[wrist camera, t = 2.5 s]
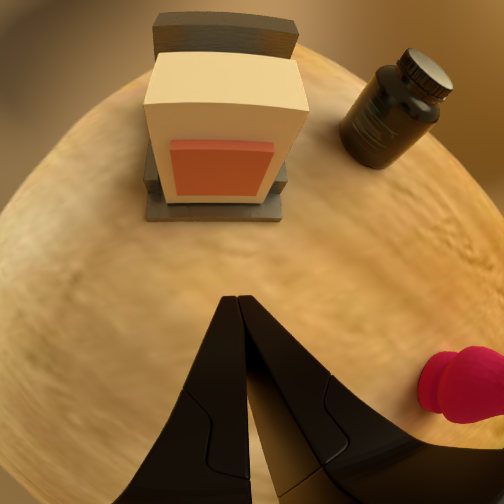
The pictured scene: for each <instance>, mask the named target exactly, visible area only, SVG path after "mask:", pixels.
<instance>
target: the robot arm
mask: <svg viewBox="0 0 504 504" xmlns="http://www.w3.org/2000/svg"><path fill="white" fill-rule="evenodd" d="M330 375H331V373H330V372H329V371H328V370H327V369H326V368H325V367H324V366H323V365H322V364H321V363H320V362H319V361H318V360H317V359H316V358H315V357H314V356H313V355H312V354H311V353H310V352H308V351H307V350H306V349H305V348H304V347H303V346H302V345H301V344H300V343H299V342H298V341H297V340H296V339H295V338H294V337H293V336H292V335H291V334H290V333H289V332H288V331H287V330H286V329H285V328H284V327H283V326H282V325H281V324H280V323H279V322H278V321H277V320H276V319H275V318H274V317H273V316H272V315H271V314H270V313H269V312H268V311H267V310H266V309H265V308H264V307H263V306H262V305H261V304H260V303H259V302H258V301H257V300H256V299H255V298H254V297H253V296H252V295H241V296H238V297H236V296H223V297H221V299H220V301H219V304H218V306H217V308H216V311H215V313H214V315H213V318H212V320H211V322H210V325H209V327H208V329H207V332H206V334H205V336H204V339H203V341H202V343H201V346H200V348H199V350H198V353H197V355H196V357H195V360H194V362H193V364H192V367H191V369H190V371H189V374H188V376H187V378H186V381H185V383H184V385H183V389H182V390H181V392H180V394H179V397H178V399H177V402H176V404H175V406H174V408H173V410H172V412H171V414H170V417H169V419H168V421H167V422H166V424H165V426H164V428H163V430H162V431H161V433H160V435H159V437H158V438H157V440H156V442H155V443H154V445H153V447H152V448H151V450H150V451H149V453H148V455H147V456H146V458H145V459H144V461H143V463H142V464H141V466H140V467H139V469H138V471H137V472H136V474H135V475H134V477H133V478H132V480H131V481H130V483H129V484H128V486H127V487H126V488H125V490H124V491H123V492H122V493H121V494H120V496H119V497H118V498H117V499H116V500H115V501H114V502H113V503H112V504H252V496H251V482H250V457H249V433H248V408H247V396H248V400H249V403H250V407H251V410H252V414H253V418H254V421H255V425H256V428H257V432H258V435H259V439H260V442H261V445H262V449H263V452H264V456H265V459H266V462H267V465H268V469H269V472H270V475H271V478H272V481H273V485H274V488H275V491H276V494H277V497H278V500H279V503H280V504H504V448H503V449H471V448H458V447H447V446H439V445H433V444H429V443H426V442H423V441H420V440H418V439H416V438H414V437H413V436H411V435H409V434H408V433H406V432H405V431H403V430H402V429H400V428H399V427H398V426H396V425H395V424H393V423H392V422H390V421H389V420H388V419H386V418H385V417H383V416H382V415H380V414H379V413H378V412H376V411H375V410H373V409H372V408H371V407H370V406H368V405H367V404H366V403H364V402H363V401H362V400H360V399H359V398H358V397H357V396H356V395H354V394H353V393H352V392H351V391H350V390H349V389H348V388H346V387H345V386H344V385H343V384H342V383H341V382H340V381H339V380H338V379H337V378H336V377H335V376H334V375H331V376H330Z"/></svg>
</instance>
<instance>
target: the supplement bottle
mask: <svg viewBox="0 0 504 504" xmlns="http://www.w3.org/2000/svg"><path fill="white" fill-rule="evenodd" d="M396 64H397V66H396V65H385V66H382V67H380V68H379V69H378V70H377V71H376V72H375V74H374V75H373V76H372V78H371V79H370V81H369V82H368V84H367V85H366V86H365V88H364V89H363V91H362V92H361V94H360V95H359V97H358V98H357V100H356V101H355V103H354V104H353V105H352V107H351V108H350V110H349V111H348V113H347V114H346V116H345V117H344V119H343V120H342V122H341V125H340V136H341V139H342V142H343V144H344V146H345V147H346V149H347V150H348V151H349V152H350V154H351V155H352V156H353V157H354V158H356V159H357V160H358V161H360V162H361V163H363V164H365V165H367V166H369V167H372V168H378V169H381V168H386V167H388V166H390V165H391V164H393V163H394V162H395V161H396V160H397V159H398V158H399V157H401V156H402V155H403V154H404V153H405V152H406V151H407V150H408V149H409V148H410V147H412V146H413V145H414V144H415V143H416V142H417V141H418V140H419V139H420V138H421V137H422V136H424V135H425V134H426V133H427V132H428V131H429V130H430V129H431V128H432V127H433V126H434V125H435V124H436V123H437V122H438V120H439V116H440V108H439V104H438V103H442V102H443V101H444V100H445V99H446V96H448V94H449V93H450V92H451V91H452V90H453V84H452V82H451V80H450V79H449V77H448V75H447V74H446V73H445V72H444V71H443V70H442V68H441V67H440V66H438V64H436V63H435V62H434V61H433V60H432V59H430V58H429V57H428V56H426V55H425V54H423V53H422V52H420V51H418V50H416V49H412V48H408V49H407V50H406V51H405V52H404V54H403V55H402V57H400V58H399V59H398V61H397V63H396Z"/></svg>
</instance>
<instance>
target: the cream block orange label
mask: <svg viewBox="0 0 504 504" xmlns="http://www.w3.org/2000/svg"><path fill="white" fill-rule="evenodd" d="M143 105H144V110H145V115H146V120H147V125H148V130H149V134H150V139H151V143H152V148H153V152H154V156H155V161H156V165H157V169H158V173H159V177H160V181H161V185H162V189H163V192H164V196H165V200H166V203H263V202H264V200H265V198H266V196H267V194H268V192H269V190H270V188H271V186H272V184H273V182H274V180H275V178H276V176H277V174H278V172H279V170H280V168H281V166H282V164H283V162H284V160H285V158H286V157H287V155H288V153H289V151H290V149H291V147H292V145H293V143H294V141H295V139H296V137H297V135H298V133H299V131H300V129H301V127H302V125H303V123H304V122H305V120H306V118H307V116H308V114H309V112H310V110H309V106H308V102H307V98H306V95H305V91H304V87H303V84H302V80H301V77H300V73H299V70H298V66H297V63H296V60H290V59H284V58H277V57H270V56H261V55H252V54H241V53H225V52H168V53H159V54H158V57H157V60H156V63H155V66H154V69H153V72H152V75H151V79H150V82H149V85H148V89H147V93H146V96H145V100H144V104H143Z"/></svg>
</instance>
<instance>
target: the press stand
mask: <svg viewBox="0 0 504 504" xmlns="http://www.w3.org/2000/svg"><path fill="white" fill-rule="evenodd" d="M298 37H299V33H298V30H297V28H296V26H295V23H294V21H292V20H286V19H281V18H275V17H268V16H260V15H253V14H243V13H229V12H168V13H159V15H158V17H157V19H156V21H155V22H154V25H153V42H154V55H155V63H156V60H157V57H158V54H159V53H168V52H225V53H241V54H252V55H261V56H270V57H277V58H284V59H290V58H291V55H292V52H293V50H294V47H295V44H296V42H297V39H298ZM144 183H145V186H146V188H147V191H148V200H147V211H146V219H147V221H148V222H174V221H267V222H280V221H281V219H282V208H281V198H280V193H281V191H282V190H283V188H284V186H285V185H286V183H287V175H286V167H285V160H284V162H283V164H282V166H281V168H280V170H279V172H278V174H277V176H276V178H275V180H274V182H273V184H272V186H271V188H270V190H269V192H268V194H267V196H266V198H265V200H264V202H263V203H166V200H165V196H164V192H163V189H162V185H161V181H160V177H159V173H158V169H157V165H156V161H155V156H154V152H153V148H152V143H151V139H150V140H149V146H148V152H147V158H146V165H145V172H144Z"/></svg>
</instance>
